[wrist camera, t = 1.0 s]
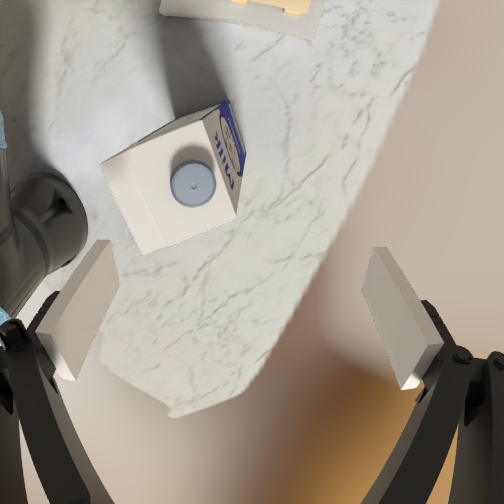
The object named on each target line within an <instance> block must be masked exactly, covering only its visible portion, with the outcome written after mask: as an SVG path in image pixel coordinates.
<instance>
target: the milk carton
mask: <svg viewBox="0 0 504 504" xmlns="http://www.w3.org/2000/svg"><path fill="white" fill-rule="evenodd" d="M245 158H246V151H245V148H244V145H243V142H242V138H241V135H240V132H239V129H238V126H237V123H236V120H235V117H234V114H233V111H232V108H231V105H230V102H229V101H227V102H224V103H221V104H218V105H215V106H212V107H209V108H206V109H203V110H200V111H197V112H194V113H191V114H188V115H186V116H183V117H180V118H178V119H175V120H173V121H171V122H170V123H168V124H166V125H164V126H163V127H161V128H159V129H157V130H156V131H154V132H152V133H150V134H149V135H147V136H145V137H144V138H142V139H140V140H139V141H137V142H135V143H134V144H131V145H130V146H129V147H127V148H126V149H124V150H123V151H121V152H119V153H118V154H116V155H114V156H112V157H111V158H109V159H107V160H106V161H104V162H102V163H101V164H99V166H100V168H101V171H102V173H103V175H104V177H105V180H106V182H107V184H108V186H109V189H110V191H111V193H112V195H113V197H114V199H115V202H116V204H117V206H118V208H119V210H120V212H121V214H122V216H123V218H124V220H125V222H126V225H127V227H128V229H129V231H130V233H131V235H132V237H133V239H134V241H135V243H136V245H137V246H138V248H139V250H140V252H141V254H142V255H145V254H148V253H150V252H153V251H155V250H158V249H161V248H163V247H166V248H167V247H169V246H172V245H174V244H176V243H179V242H181V241H184V240H186V239H189V238H191V237H193V236H196V235H198V234H201V233H203V232H206V231H208V230H211V229H213V228H215V227H218V226H220V225H223V224H225V223H228V222H230V221H233V220H235V219H237V217H236V213H237V207H238V201H239V194H240V188H241V182H242V176H243V170H244V164H245Z"/></svg>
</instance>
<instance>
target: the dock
mask: <svg viewBox="0 0 504 504" xmlns="http://www.w3.org/2000/svg"><path fill="white" fill-rule="evenodd" d="M324 1H325V0H161V4H160V7H159V11H158V12H159V13H160V14H162V15H164V16H174V17H186V18H196V19H205V20H213V21H220V22H226V23H233V24H239V25H244V26H249V27H255V28H259V29H264V30H269V31H273V32H278V33H282V34H286V35H290V36H294V37H297V38H301V39H305V40H308V41H312V40H313V39H314V38H315V35H316V31H317V27H318V24H319V20H320V16H321V12H322V9H323V5H324Z"/></svg>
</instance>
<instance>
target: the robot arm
mask: <svg viewBox="0 0 504 504" xmlns="http://www.w3.org/2000/svg"><path fill="white" fill-rule="evenodd" d="M6 148H7V143H6V142H5V134H4V123H3V115H2V112H1V111H0V343H1V345H2V346H0V504H28V501H27V495H26V489H25V483H24V477H23V468H22V459H21V448H20V435H19V420H20V423H21V427H22V430H23V434H24V437H25V440H26V443H27V446H28V449H29V452H30V455H31V458H32V461H33V464H34V466H35V469H36V471H37V474H38V477H39V479H40V482H41V484H42V486H43V488H44V491H45V493H46V495H47V498H48V500H49V502H50V504H114V502H113V500H112V499H111V498H110V496H109V494H108V492H107V490H106V489H105V487H104V485H103V484H102V482H101V480H100V478H99V476H98V475H97V473H96V471H95V469H94V467H93V465H92V464H91V462H90V460H89V458H88V456H87V454H86V452H85V450H84V448H83V446H82V444H81V441H80V439H79V437H78V435H77V433H76V431H75V428H74V426H73V424H72V421H71V419H70V417H69V414H68V412H67V410H66V407H65V405H64V402H63V399H62V397H61V394H60V392H59V389H58V386H57V383H56V381H55V379H54V377H53V375H54V372H55V370H57V372H58V374H59V375H60V377H61V378H63V379H68V380H72V381H76V380H77V377H78V375H79V372H80V370H81V368H82V365H83V363H84V361H85V358H86V356H87V354H88V351H89V349H90V347H91V345H92V342H93V340H94V338H95V336H96V333H97V331H98V329H99V327H100V325H101V323H102V321H103V318H104V316H105V314H106V312H107V310H108V308H109V306H110V304H111V302H112V300H113V298H114V296H115V294H116V292H117V290H118V288H119V286H120V281H119V277H118V273H117V268H116V264H115V259H114V255H113V250H112V245H111V240H97V241H96V242H95V244H94V245H93V246H92V248H91V249H90V250H89V252H88V253H87V254H86V256H85V257H84V258H83V260H82V261H81V263H80V264H79V265H78V267H77V268H76V270H75V271H74V272H73V274H72V275H71V277H70V278H69V280H68V281H67V283H66V284H65V285H64V287H63V288H62V290H61V291H55V292H53V293H52V294H51V295H50V296H49V297H47V299H46V300H45V302H44V303H43V305H42V307H41V308H40V309H39V311H38V313H37V314H36V316H35V317H34V318H33V320H32V322H31V323H30V325H29V327H28V328H27V330H26V329H25V327H24V325H23V323H22V321H21V320H19V319H15V318H16V316H17V315H18V313H19V312H20V310H21V309H22V308H23V306H24V305H25V303H26V302H27V301H28V299H29V298H30V296H31V295H32V294H33V292H34V291H35V290H36V288H37V287H38V286H39V284H40V283H41V282H42V280H43V279H44V278H45V277H46V276H47V275H48V274H50V273H52V272H54V271H56V270H58V269H59V268H61V267H64V266H66V265H68V264H70V263H71V262H72V261H73V260H74V259H75V258H76V257H77V256H78V255H79V253H80V252H81V251H82V249H83V248H84V246H85V244H86V240H87V235H88V224H87V218H86V214H85V211H84V208H83V206H82V204H81V202H80V200H79V198H78V197H77V195H76V194H75V192H74V191H73V190H72V189H71V188H70V187H69V186H68V185H67V184H66V183H65V182H64V181H63V180H61V179H60V178H58V177H56V176H54V175H51V174H47V173H36V174H32V175H30V176H28V177H27V178H25V179H23V180H22V181H20V182H19V183H18V184H17V185H16V186H15V187H14V188H13V190H12V191H11V193H10V187H9V179H8V171H7V158H6ZM362 293H363V295H364V297H365V300H366V302H367V304H368V307H369V309H370V312H371V314H372V316H373V319H374V321H375V323H376V326H377V329H378V331H379V334H380V336H381V338H382V341H383V344H384V346H385V349H386V351H387V354H388V357H389V359H390V362H391V364H392V367H393V370H394V373H395V375H396V378H397V381H398V383H399V386H400V389H401V390H405V389H411V388H416V387H417V386H418V384H419V383H420V381H421V380H423V382H424V385H425V387H424V388H423V390H422V391H421V392H420V394H419V395H418V397H417V398H416V399H415V401H416V402H417V403H416V405H415V407H414V409H413V412H412V414H411V416H410V418H409V420H408V422H407V424H406V426H405V428H404V430H403V432H402V434H401V436H400V438H399V440H398V442H397V444H396V446H395V448H394V449H393V452H392V453H391V455H390V457H389V458H388V460H387V462H386V464H385V466H384V467H383V469H382V471H381V472H380V474H379V476H378V478H377V479H376V481H375V482H374V484H373V486H372V487H371V489H370V490H369V492H368V493H367V495H366V496H365V498H364V499H363V501H362V502H361V504H426V502H427V500H428V498H429V496H430V494H431V492H432V490H433V487H434V485H435V483H436V481H437V478H438V476H439V473H440V471H441V469H442V467H443V464H444V461H445V459H446V457H447V454H448V451H449V449H450V446H451V443H452V440H453V438H454V435H455V432H456V429H457V425H458V423H459V425H458V438H457V449H456V458H455V465H454V474H453V479H452V485H451V491H450V496H449V501H448V504H504V354H503V353H501V352H496V351H494V352H492V353H491V354H490V355H489V356H488V358H487V359H479V358H473V356H472V354H471V353H470V351H469V350H467V349H466V348H464V347H462V346H458V345H456V344H455V342H454V340H453V338H452V336H451V334H450V333H449V331H448V329H447V327H446V326H445V324H444V323H443V321H442V319H441V317H439V314H438V312H437V311H436V309H435V307H433V305H431V304H430V303H429V302H428V301H427V300H420V299H419V298H418V296H417V294H416V293H415V291H414V290H413V288H412V286H411V285H410V283H409V281H408V280H407V278H406V276H405V275H404V274H403V272H402V270H401V269H400V267H399V266H398V264H397V262H396V261H395V259H394V258H393V256H392V255H391V253H390V252H389V250H388V249H387V248H386V247H373V251H372V255H371V258H370V262H369V266H368V270H367V273H366V277H365V281H364V284H363V288H362Z"/></svg>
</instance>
